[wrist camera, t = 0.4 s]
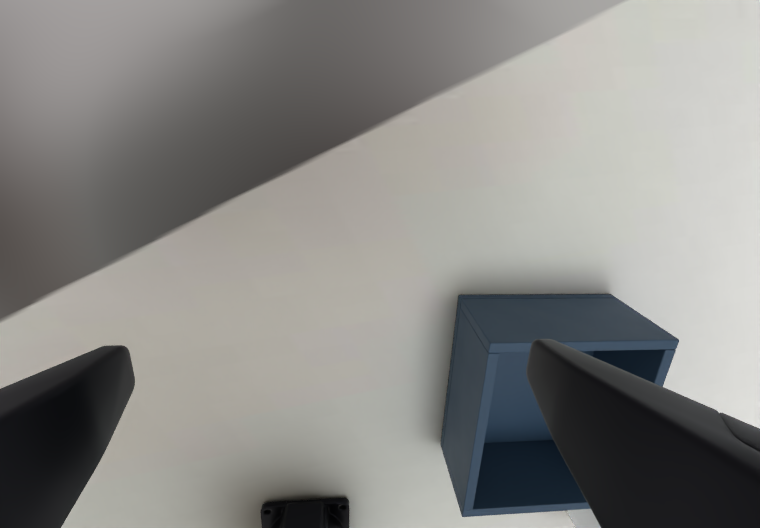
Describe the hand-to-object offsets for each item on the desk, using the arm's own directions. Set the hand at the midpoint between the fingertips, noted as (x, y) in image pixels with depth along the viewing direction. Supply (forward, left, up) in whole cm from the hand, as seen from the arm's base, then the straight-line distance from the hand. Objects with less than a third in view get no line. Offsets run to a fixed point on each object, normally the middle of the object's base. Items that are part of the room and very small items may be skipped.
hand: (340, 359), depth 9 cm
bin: (-11, -12, -14) cm, 22 cm away
